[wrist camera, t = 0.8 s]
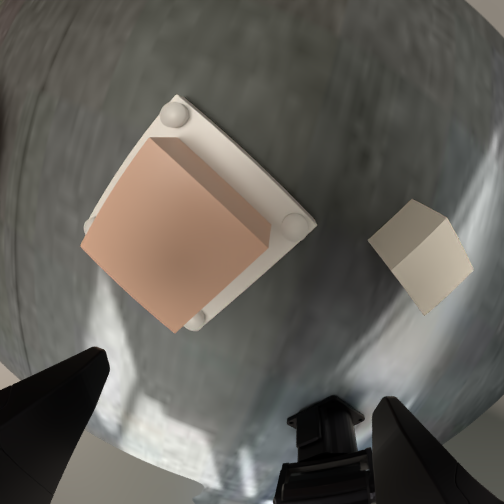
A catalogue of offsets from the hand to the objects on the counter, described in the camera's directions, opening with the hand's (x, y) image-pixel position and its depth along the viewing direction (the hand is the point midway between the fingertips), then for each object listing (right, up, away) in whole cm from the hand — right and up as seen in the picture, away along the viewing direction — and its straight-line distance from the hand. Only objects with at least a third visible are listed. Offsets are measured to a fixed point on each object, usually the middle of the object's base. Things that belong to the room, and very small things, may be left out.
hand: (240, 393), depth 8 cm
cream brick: (+12, +5, +11) cm, 17 cm away
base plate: (-4, +6, +12) cm, 14 cm away
